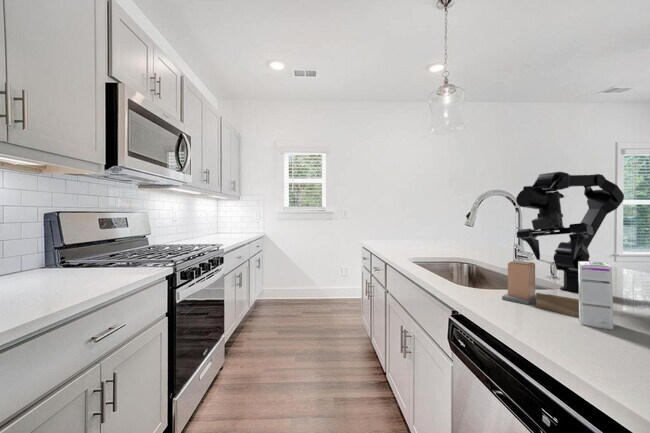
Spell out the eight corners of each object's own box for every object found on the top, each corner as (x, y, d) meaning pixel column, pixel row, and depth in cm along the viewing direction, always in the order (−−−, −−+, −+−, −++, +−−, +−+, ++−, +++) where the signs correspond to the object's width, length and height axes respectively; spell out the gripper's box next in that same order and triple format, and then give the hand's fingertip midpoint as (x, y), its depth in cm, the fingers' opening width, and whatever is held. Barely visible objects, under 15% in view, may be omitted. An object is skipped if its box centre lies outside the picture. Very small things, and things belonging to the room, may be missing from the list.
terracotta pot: (515, 292, 94) (515, 260, 94) (535, 295, 90) (535, 262, 90) (507, 295, 91) (507, 262, 91) (528, 299, 87) (528, 264, 86)
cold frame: (547, 300, 88) (547, 287, 88) (590, 308, 81) (590, 294, 81) (536, 307, 82) (536, 293, 82) (581, 316, 75) (581, 301, 75)
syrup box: (614, 330, 66) (614, 266, 66) (579, 324, 70) (579, 263, 70) (609, 322, 71) (610, 262, 71) (577, 317, 74) (577, 260, 74)
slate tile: (515, 293, 96) (515, 290, 96) (540, 298, 91) (540, 294, 91) (502, 299, 90) (502, 296, 90) (528, 304, 85) (528, 301, 85)
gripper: (506, 211, 99) (510, 258, 95) (576, 200, 83) (583, 255, 80) (522, 216, 104) (526, 261, 101) (590, 207, 89) (597, 259, 86)
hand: (555, 259), depth 92 cm, fingers open, 9 cm apart
